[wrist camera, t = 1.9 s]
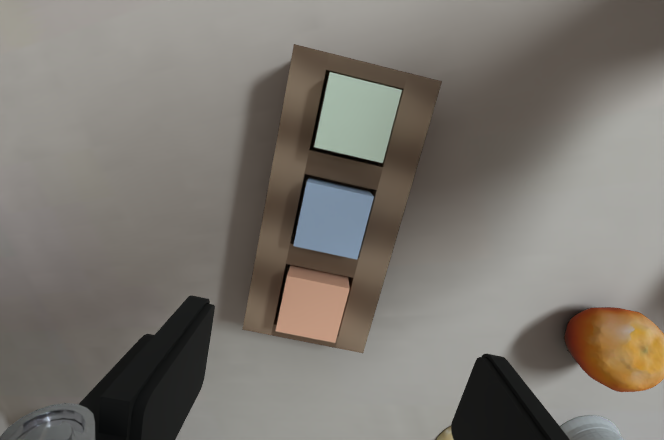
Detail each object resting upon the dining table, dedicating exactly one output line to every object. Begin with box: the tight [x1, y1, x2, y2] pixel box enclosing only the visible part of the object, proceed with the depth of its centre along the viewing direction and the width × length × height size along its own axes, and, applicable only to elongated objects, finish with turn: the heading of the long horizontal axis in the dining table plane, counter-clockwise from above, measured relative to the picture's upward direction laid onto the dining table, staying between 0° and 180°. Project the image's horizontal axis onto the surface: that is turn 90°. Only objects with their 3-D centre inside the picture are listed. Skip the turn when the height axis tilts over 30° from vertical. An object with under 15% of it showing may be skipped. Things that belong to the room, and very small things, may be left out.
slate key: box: [293, 177, 374, 259], centre depth 29 cm, size 6×6×3 cm
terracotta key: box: [276, 265, 350, 343], centre depth 31 cm, size 6×6×3 cm
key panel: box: [242, 44, 442, 353], centre depth 31 cm, size 26×12×4 cm, turn 167°
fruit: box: [564, 307, 664, 392], centre depth 33 cm, size 8×8×8 cm
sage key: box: [314, 72, 402, 163], centre depth 26 cm, size 6×6×3 cm
